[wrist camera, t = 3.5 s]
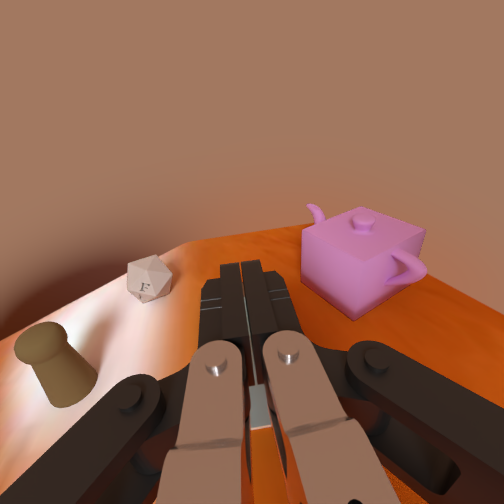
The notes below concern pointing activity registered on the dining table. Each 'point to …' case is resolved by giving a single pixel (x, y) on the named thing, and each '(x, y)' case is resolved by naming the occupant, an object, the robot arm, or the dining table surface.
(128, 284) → the die
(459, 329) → the dining table surface
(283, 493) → the dining table surface
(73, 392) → the cork
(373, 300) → the teapot
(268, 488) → the dining table surface
